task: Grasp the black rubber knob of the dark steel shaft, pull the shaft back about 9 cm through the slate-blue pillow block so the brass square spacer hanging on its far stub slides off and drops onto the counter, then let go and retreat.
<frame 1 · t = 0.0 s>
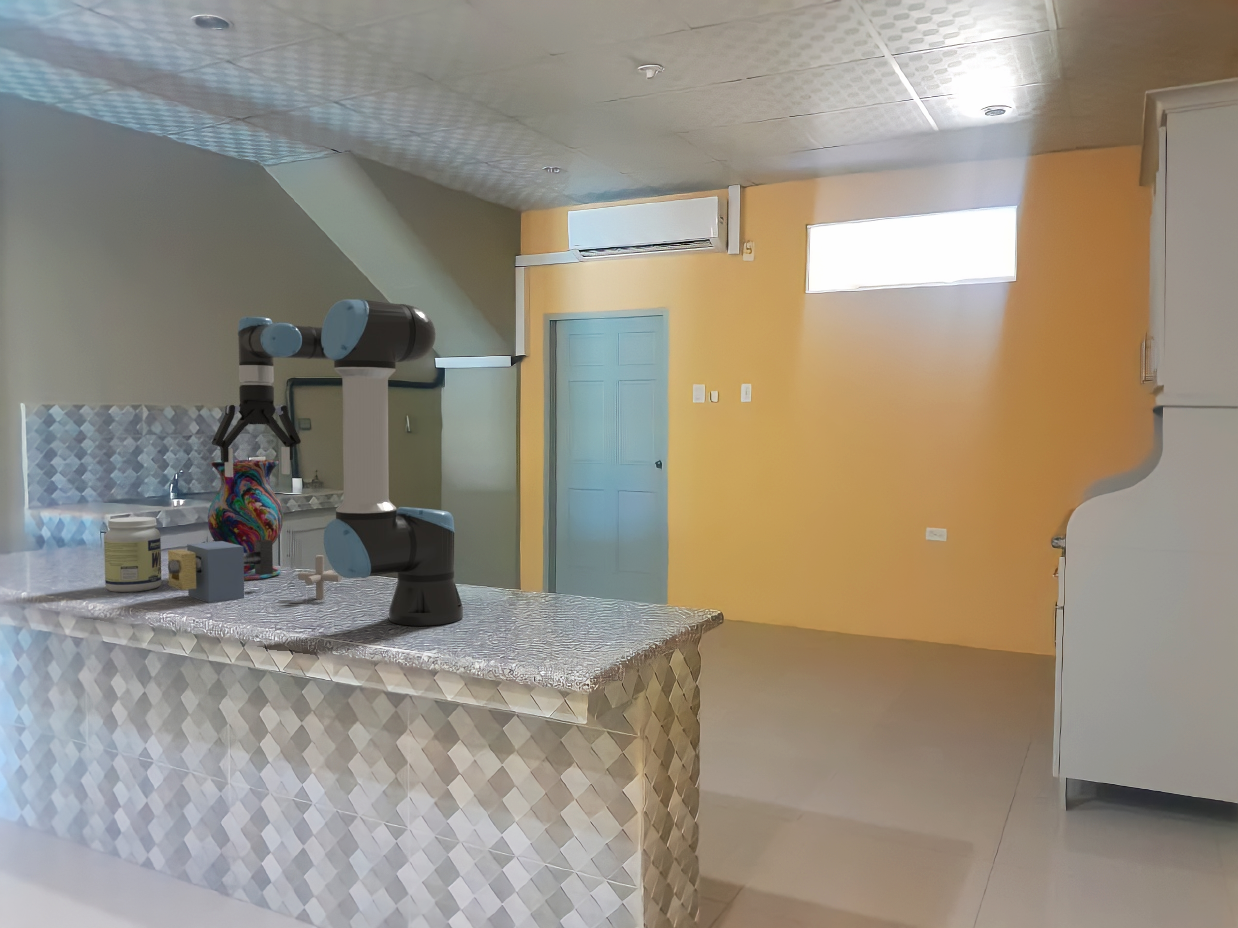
hand: (258, 475, 219), 28 cm above the counter, fingers open, 13 cm apart
supplement tub: (133, 589, 226), on the counter
pipe connector: (320, 599, 215), on the counter
spacer: (182, 569, 211), point 7 cm above the counter, touching shaft
shaft: (221, 561, 217), point 8 cm above the counter, slide at 0.0 cm, touching spacer
vase: (247, 576, 244), on the counter
pillow block: (216, 596, 217), on the counter
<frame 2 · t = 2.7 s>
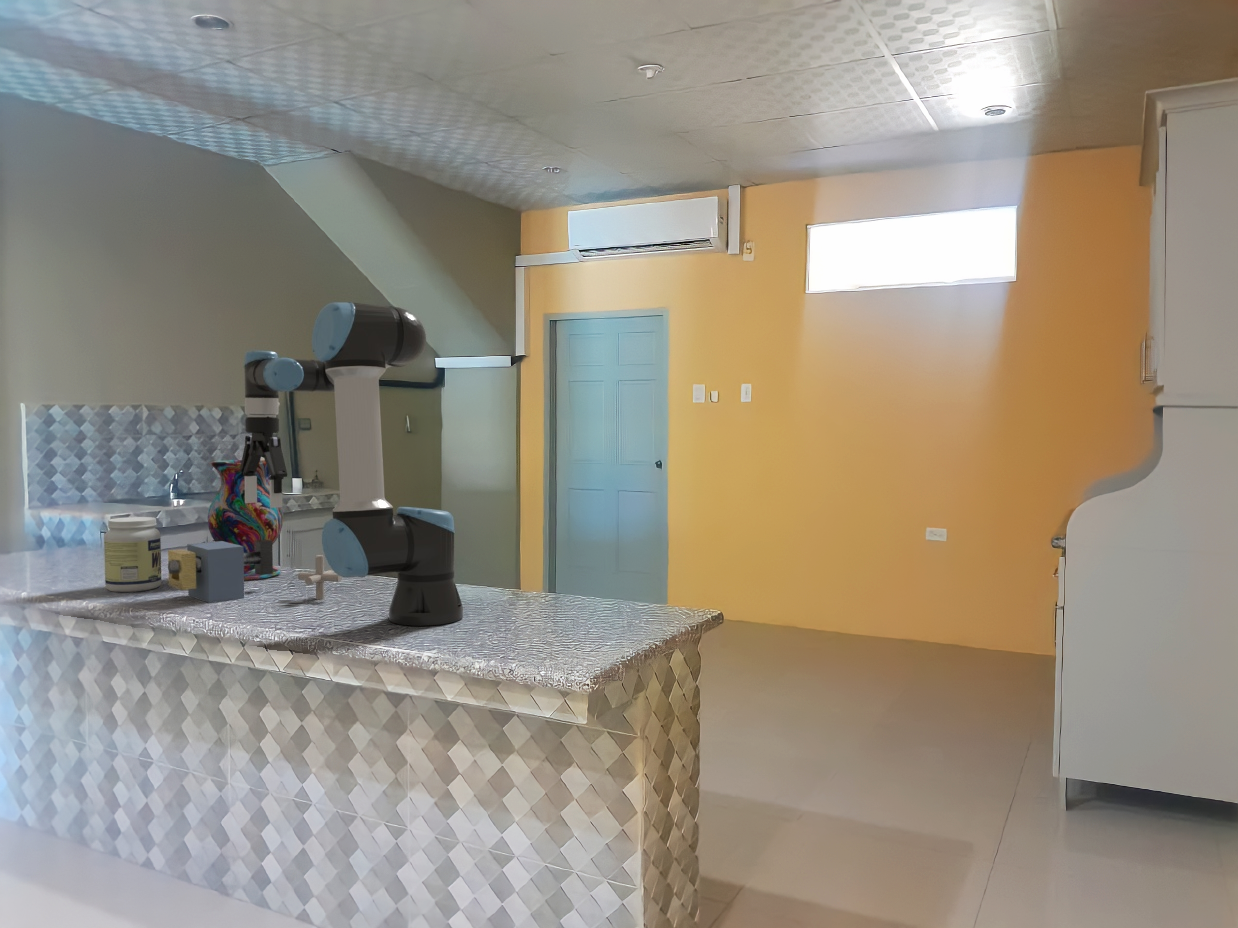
hand: (263, 505, 224), 21 cm above the counter, fingers open, 13 cm apart
nothing on the counter moved.
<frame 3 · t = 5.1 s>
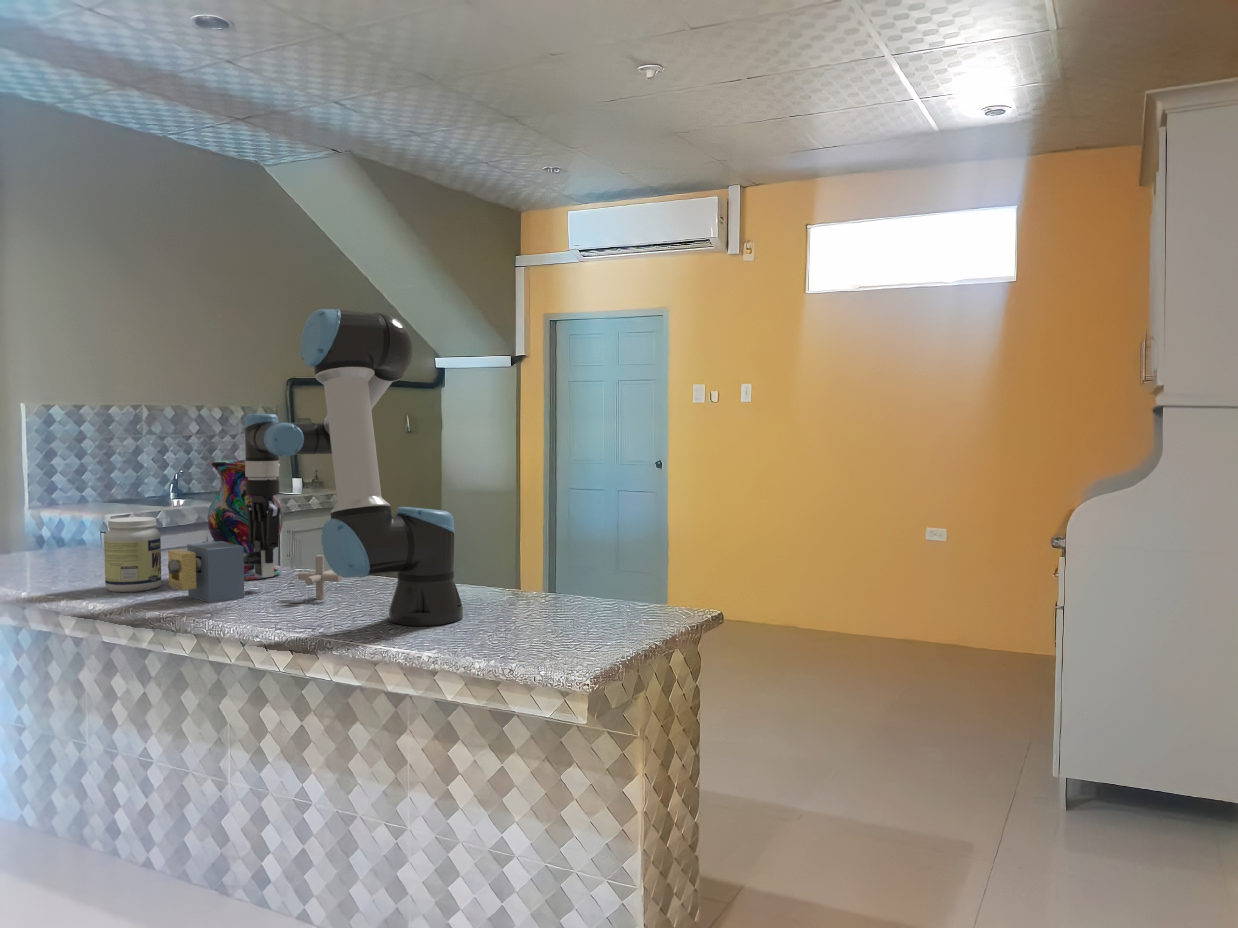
hand: (264, 575, 225), 4 cm above the counter, fingers closed on shaft, 3 cm apart
shaft: (222, 561, 217), point 8 cm above the counter, slide at 0.0 cm, touching gripper, spacer
everything else where it was.
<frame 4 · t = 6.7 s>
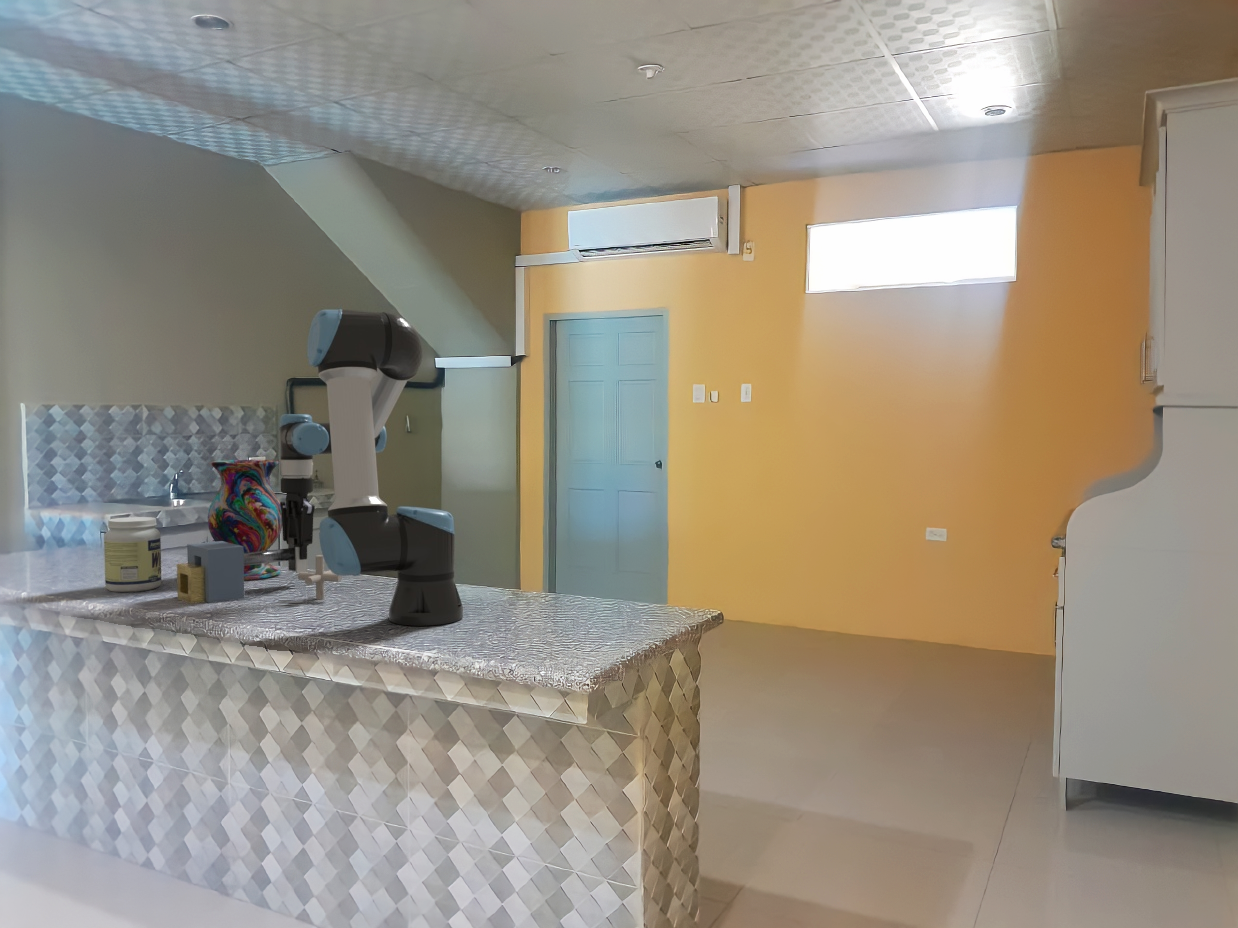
hand: (297, 571, 231), 4 cm above the counter, fingers closed on shaft, 3 cm apart
spacer: (190, 582, 213), point 4 cm above the counter
shaft: (257, 557, 223), point 8 cm above the counter, slide at 8.5 cm, touching gripper
everything else where it was.
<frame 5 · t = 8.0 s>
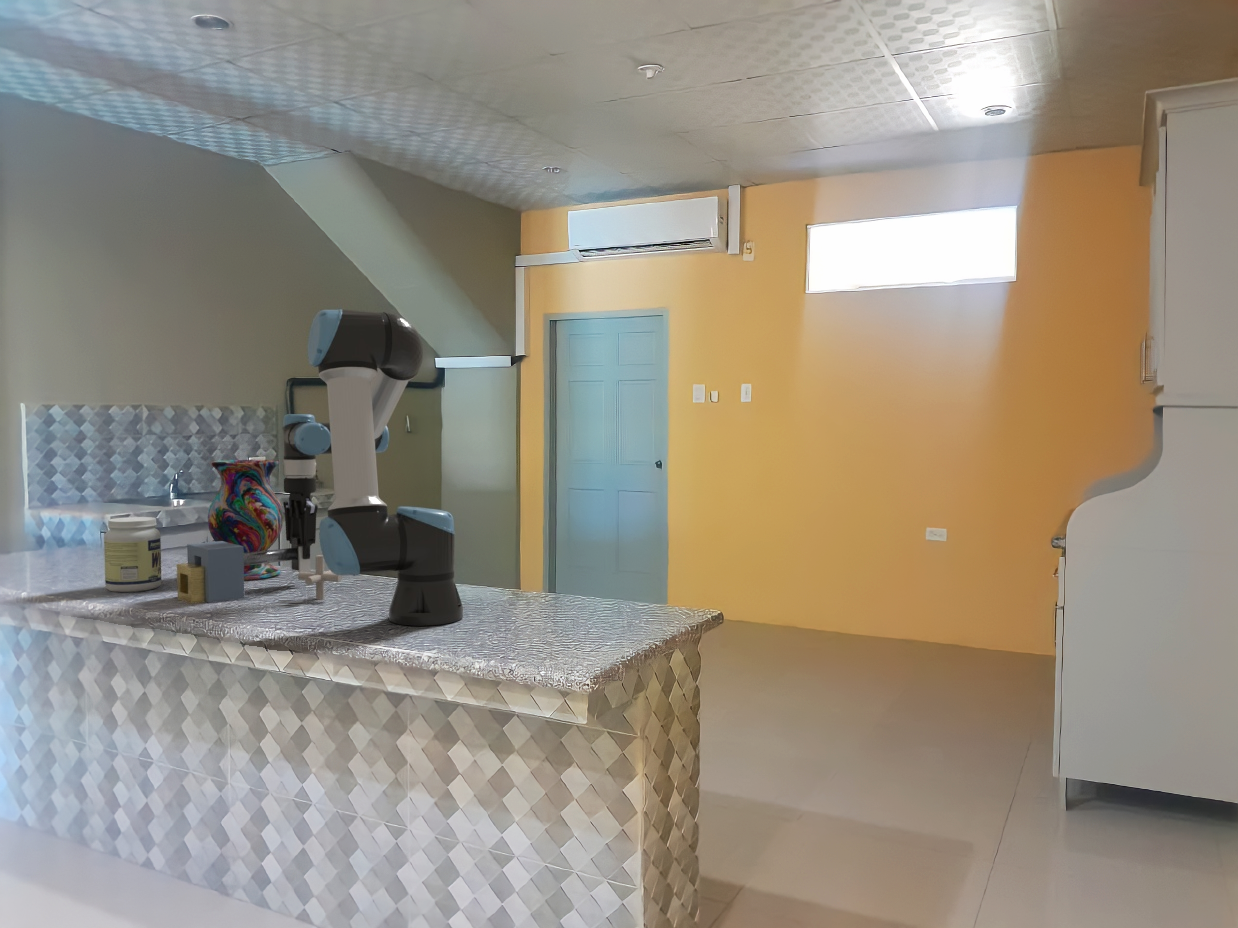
hand: (301, 570, 232), 4 cm above the counter, fingers closed on shaft, 3 cm apart
shaft: (260, 557, 224), point 8 cm above the counter, slide at 9.3 cm, touching gripper
everything else where it was.
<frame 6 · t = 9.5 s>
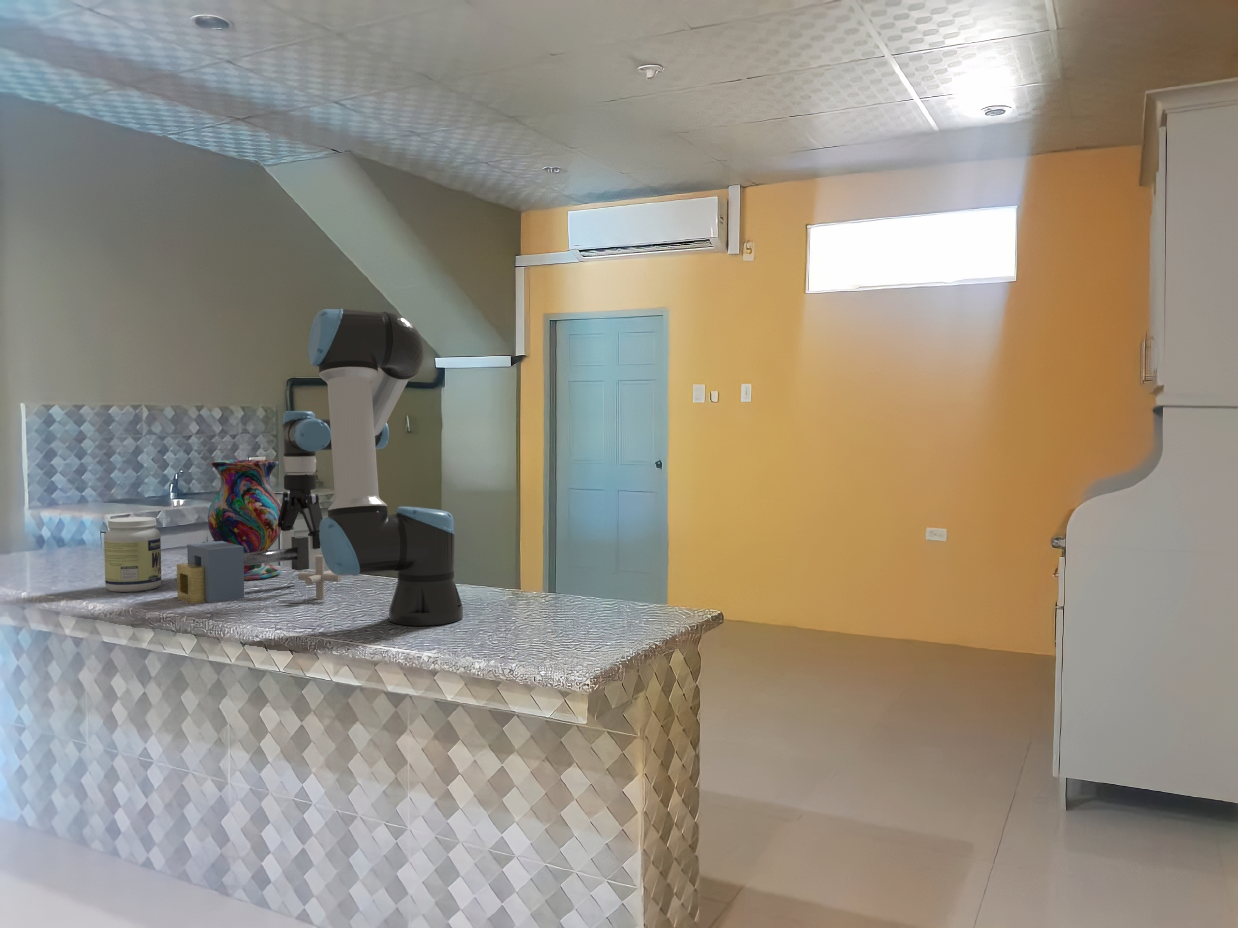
hand: (301, 559, 231), 6 cm above the counter, fingers open, 13 cm apart
shaft: (260, 557, 224), point 8 cm above the counter, slide at 9.3 cm
everything else where it was.
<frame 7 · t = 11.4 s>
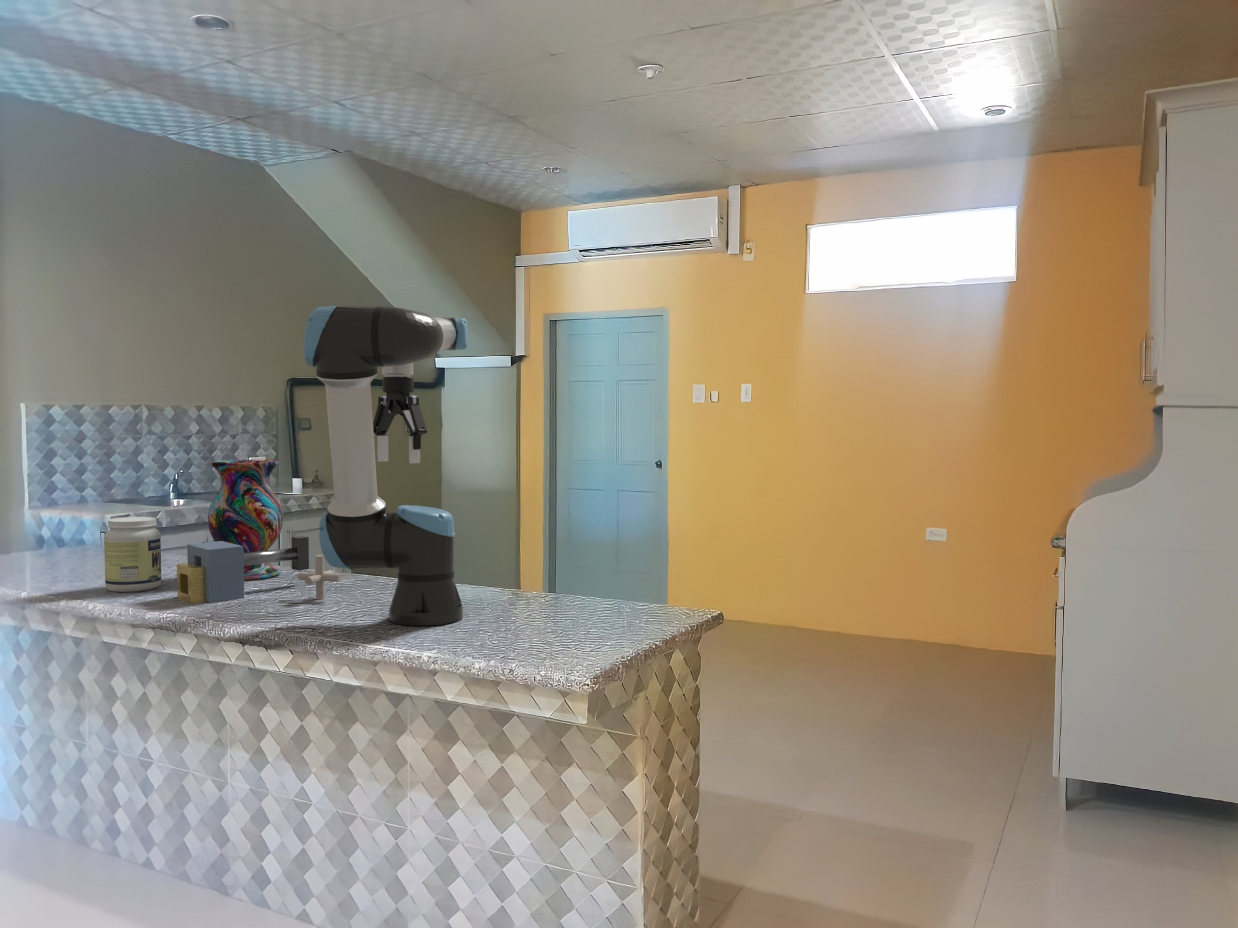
hand: (398, 462, 232), 31 cm above the counter, fingers open, 13 cm apart
nothing on the counter moved.
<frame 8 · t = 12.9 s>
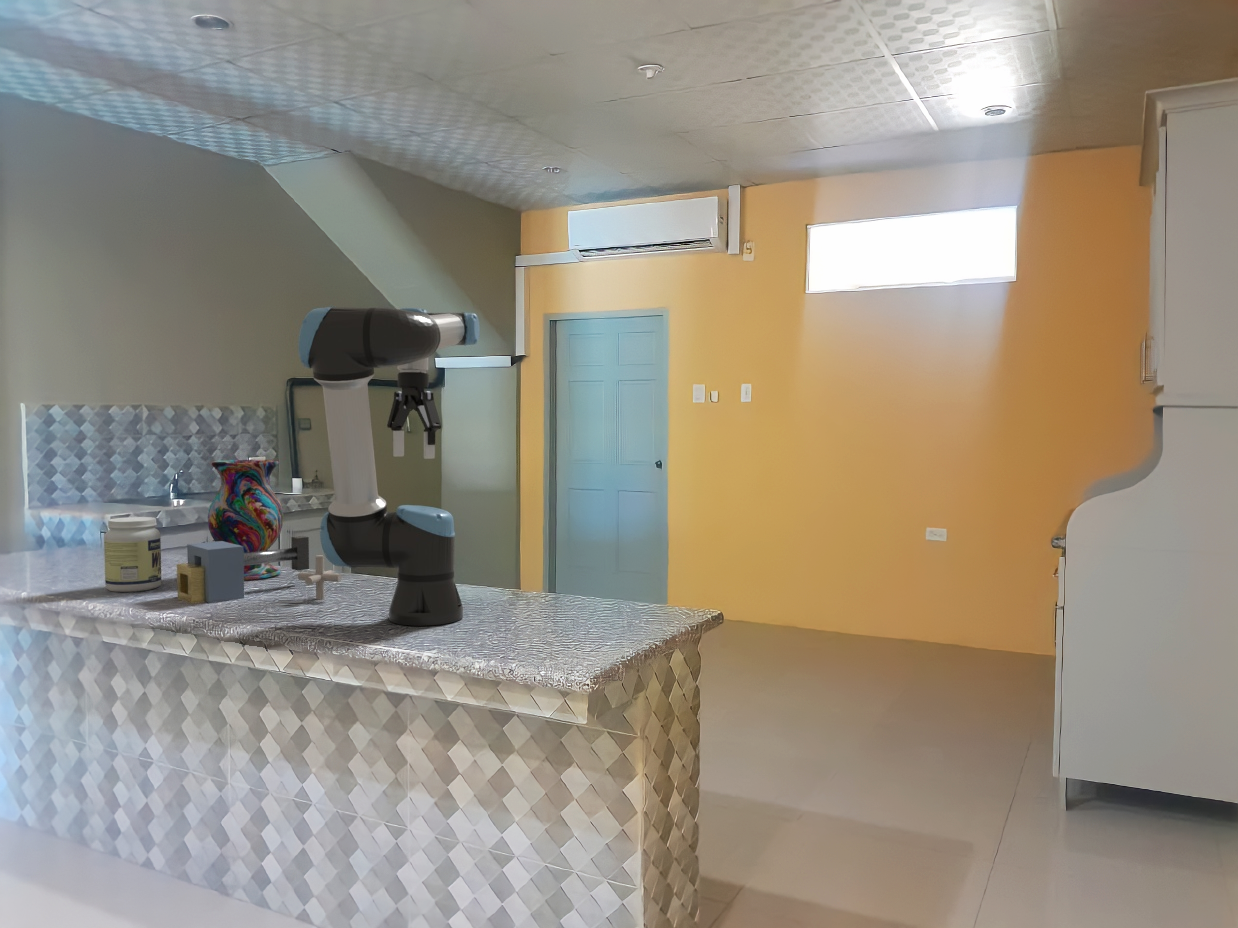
hand: (413, 457, 232), 32 cm above the counter, fingers open, 13 cm apart
nothing on the counter moved.
at the end: shaft slide at 9.3 cm; spacer inside the target area (0.4 cm from its centre), point 3.9 cm above the counter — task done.
